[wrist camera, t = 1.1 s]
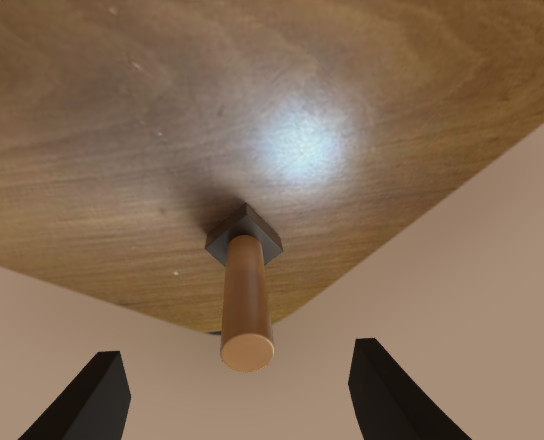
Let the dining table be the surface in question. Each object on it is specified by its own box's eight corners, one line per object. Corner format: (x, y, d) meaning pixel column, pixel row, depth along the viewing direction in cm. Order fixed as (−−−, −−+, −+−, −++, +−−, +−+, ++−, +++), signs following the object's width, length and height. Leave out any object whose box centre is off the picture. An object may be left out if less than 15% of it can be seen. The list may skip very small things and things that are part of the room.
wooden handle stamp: (242, 267, 21) (244, 395, 13) (206, 235, 20) (184, 354, 12) (280, 237, 20) (308, 353, 12) (246, 202, 19) (251, 305, 11)
